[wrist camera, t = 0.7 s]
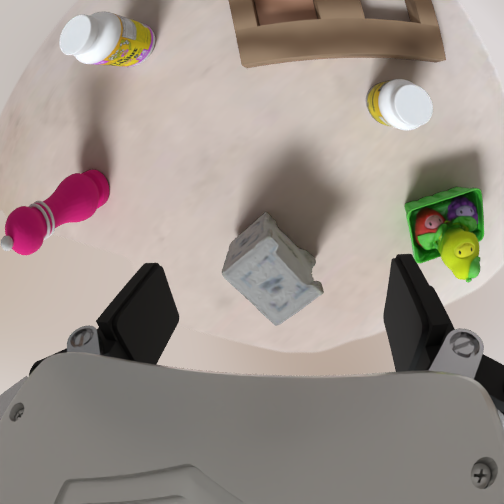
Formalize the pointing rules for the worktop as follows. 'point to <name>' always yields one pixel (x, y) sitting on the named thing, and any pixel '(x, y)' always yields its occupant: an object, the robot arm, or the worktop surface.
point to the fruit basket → (448, 229)
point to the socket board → (331, 32)
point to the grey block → (271, 271)
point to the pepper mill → (55, 211)
